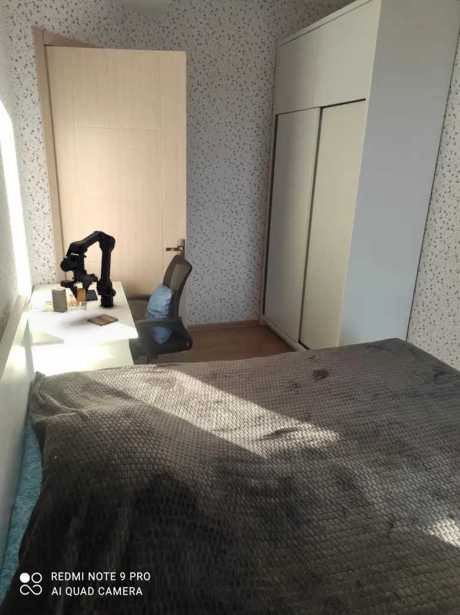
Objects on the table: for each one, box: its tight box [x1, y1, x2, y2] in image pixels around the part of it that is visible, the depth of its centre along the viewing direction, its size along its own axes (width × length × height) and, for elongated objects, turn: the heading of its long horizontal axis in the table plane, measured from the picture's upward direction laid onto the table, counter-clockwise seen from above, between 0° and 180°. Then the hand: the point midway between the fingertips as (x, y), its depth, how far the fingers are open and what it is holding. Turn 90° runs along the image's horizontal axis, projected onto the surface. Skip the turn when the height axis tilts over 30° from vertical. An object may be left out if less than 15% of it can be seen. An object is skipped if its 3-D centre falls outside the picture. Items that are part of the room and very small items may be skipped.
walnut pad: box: [86, 313, 119, 327], centre depth 235 cm, size 11×11×1 cm
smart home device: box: [85, 289, 99, 302], centre depth 274 cm, size 8×2×20 cm
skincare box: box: [51, 287, 68, 313], centre depth 245 cm, size 6×4×12 cm
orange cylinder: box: [75, 287, 87, 303], centre depth 233 cm, size 5×5×6 cm
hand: (80, 297), depth 234 cm, fingers closed on orange cylinder, 5 cm apart
